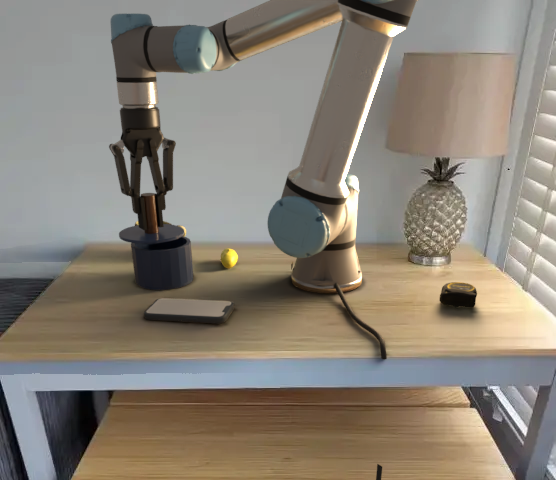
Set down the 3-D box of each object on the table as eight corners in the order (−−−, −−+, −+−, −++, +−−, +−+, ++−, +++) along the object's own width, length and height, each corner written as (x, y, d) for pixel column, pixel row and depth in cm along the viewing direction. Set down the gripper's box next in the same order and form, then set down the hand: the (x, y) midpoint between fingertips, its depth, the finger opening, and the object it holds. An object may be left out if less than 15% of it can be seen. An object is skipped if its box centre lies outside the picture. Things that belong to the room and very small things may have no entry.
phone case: (142, 321, 116) (224, 326, 113) (141, 313, 115) (223, 317, 112) (159, 304, 123) (236, 308, 120) (158, 296, 123) (235, 300, 120)
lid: (195, 240, 128) (192, 196, 124) (133, 250, 122) (128, 204, 117) (168, 225, 138) (165, 185, 134) (110, 234, 132) (104, 192, 128)
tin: (203, 282, 134) (200, 244, 130) (149, 294, 128) (144, 254, 124) (178, 267, 143) (175, 231, 139) (127, 277, 137) (122, 240, 133)
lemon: (218, 270, 141) (217, 254, 139) (222, 259, 148) (221, 244, 146) (236, 270, 141) (236, 254, 139) (239, 259, 148) (239, 244, 146)
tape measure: (437, 308, 120) (439, 290, 118) (442, 296, 125) (444, 279, 124) (473, 313, 118) (476, 295, 116) (476, 300, 123) (479, 283, 122)
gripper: (169, 103, 125) (178, 218, 136) (92, 106, 117) (108, 228, 128) (185, 105, 119) (193, 225, 130) (105, 109, 111) (120, 237, 122)
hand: (151, 226), depth 129 cm, fingers closed on lid, 3 cm apart
